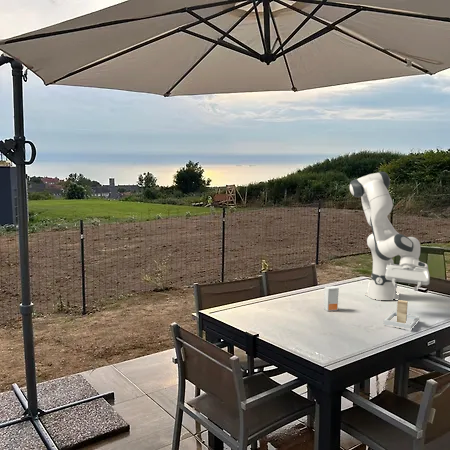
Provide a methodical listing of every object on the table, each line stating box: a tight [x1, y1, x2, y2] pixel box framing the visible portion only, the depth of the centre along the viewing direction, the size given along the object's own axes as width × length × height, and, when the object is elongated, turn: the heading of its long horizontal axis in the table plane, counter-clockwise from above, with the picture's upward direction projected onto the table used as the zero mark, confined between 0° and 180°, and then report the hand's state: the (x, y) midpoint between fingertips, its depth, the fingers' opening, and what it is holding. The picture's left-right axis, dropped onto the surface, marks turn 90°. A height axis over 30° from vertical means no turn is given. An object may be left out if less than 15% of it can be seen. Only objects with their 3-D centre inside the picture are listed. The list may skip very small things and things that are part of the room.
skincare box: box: [323, 285, 339, 312], centre depth 217 cm, size 6×4×12 cm
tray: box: [383, 311, 420, 329], centre depth 196 cm, size 16×12×3 cm
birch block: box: [396, 299, 409, 323], centre depth 196 cm, size 4×4×10 cm
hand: (405, 289), depth 204 cm, fingers open, 8 cm apart
